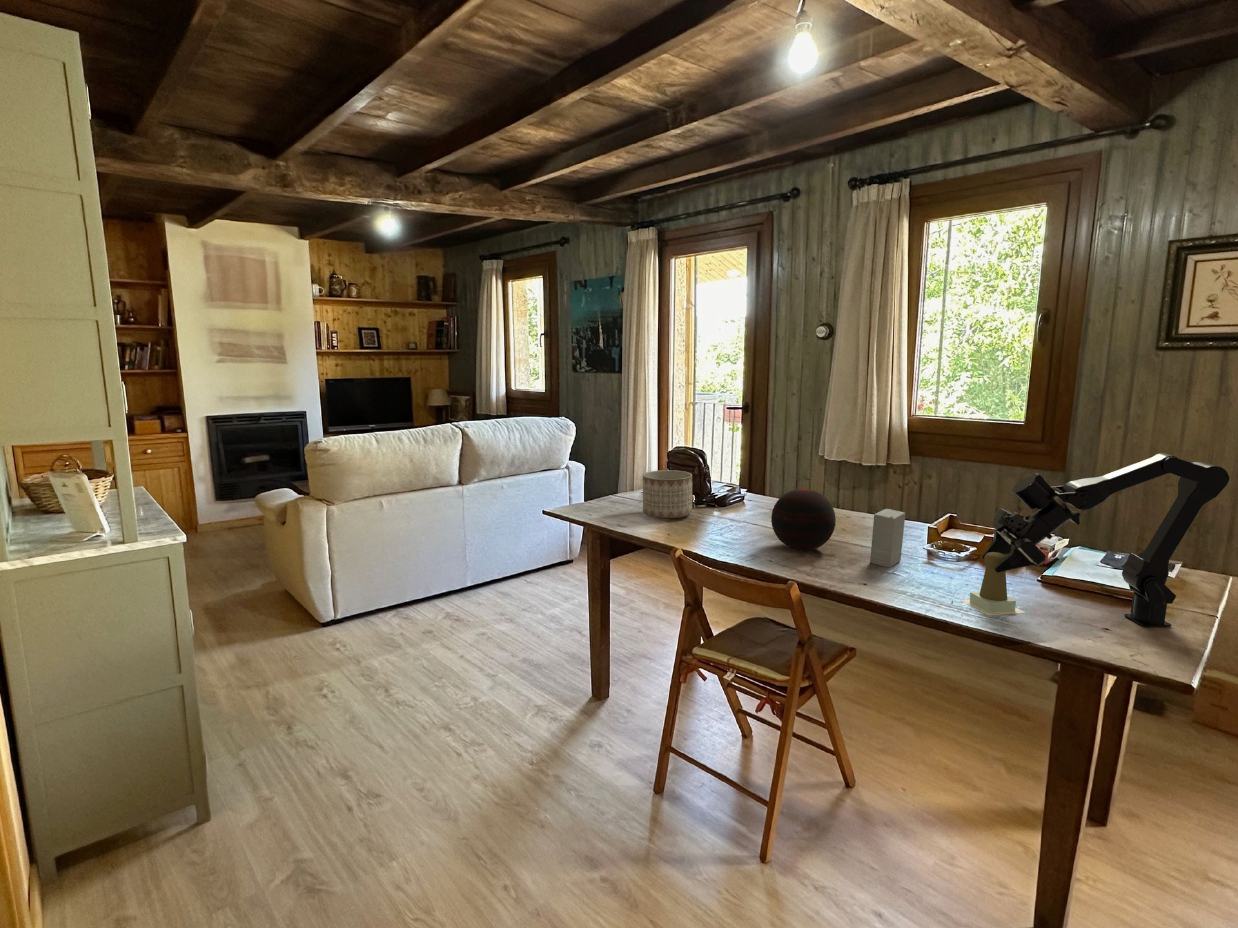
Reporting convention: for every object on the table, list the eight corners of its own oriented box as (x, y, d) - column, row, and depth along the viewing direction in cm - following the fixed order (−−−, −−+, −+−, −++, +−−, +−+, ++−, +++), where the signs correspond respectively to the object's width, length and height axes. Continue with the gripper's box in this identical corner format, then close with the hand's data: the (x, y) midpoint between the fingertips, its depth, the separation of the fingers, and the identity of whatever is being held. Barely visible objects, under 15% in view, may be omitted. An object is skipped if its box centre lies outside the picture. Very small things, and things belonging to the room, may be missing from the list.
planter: (645, 509, 273) (645, 469, 270) (692, 510, 270) (692, 470, 267) (640, 521, 254) (640, 479, 251) (691, 522, 251) (691, 479, 248)
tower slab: (1024, 618, 160) (1025, 612, 159) (986, 621, 158) (987, 615, 158) (995, 602, 169) (996, 597, 169) (959, 605, 168) (960, 599, 168)
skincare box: (880, 557, 207) (883, 507, 204) (903, 562, 202) (906, 511, 199) (868, 563, 201) (871, 512, 198) (891, 568, 196) (894, 516, 193)
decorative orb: (805, 537, 229) (807, 480, 226) (848, 553, 212) (850, 491, 208) (758, 545, 221) (759, 486, 217) (798, 562, 203) (800, 498, 200)
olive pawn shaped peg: (977, 590, 167) (980, 548, 165) (1004, 593, 165) (1008, 550, 163) (981, 599, 161) (985, 556, 159) (1009, 602, 159) (1013, 558, 157)
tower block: (1015, 610, 161) (1016, 600, 160) (988, 612, 160) (989, 602, 159) (995, 599, 167) (995, 590, 167) (969, 601, 166) (970, 592, 166)
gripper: (1005, 490, 167) (954, 530, 171) (1035, 507, 149) (977, 552, 153) (1037, 521, 167) (985, 561, 171) (1070, 543, 149) (1012, 587, 153)
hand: (989, 564), depth 162 cm, fingers open, 9 cm apart
